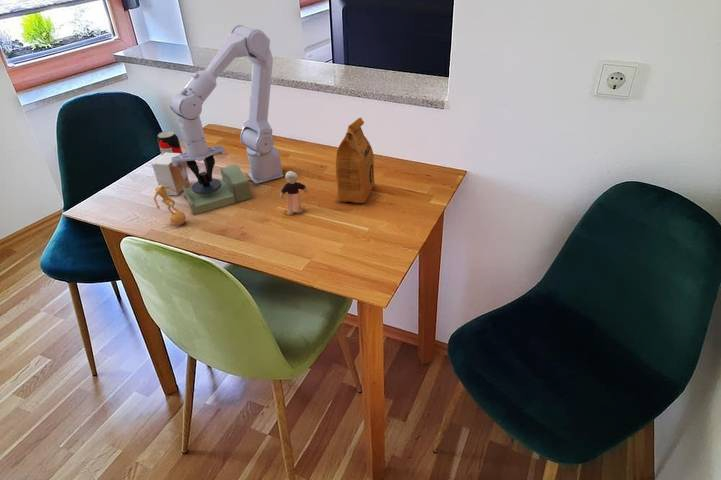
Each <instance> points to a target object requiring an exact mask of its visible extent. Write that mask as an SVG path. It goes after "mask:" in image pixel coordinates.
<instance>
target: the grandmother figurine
mask: <svg viewBox="0 0 721 480" xmlns="http://www.w3.org/2000/svg"><path fill="white" fill-rule="evenodd" d="M298 177H299V176H298V173H296V172H295V171H293V170H289V171H287V172H286V173H285V179H286V181H287V183H285V185H283V187H282V189H280V193H279V198H281V199H282V198H284V195H285V194H286V206H287V211H286V215H288V216H292V215H294V214H295V213H296V214H301V213H303V209H302V198H301V192H300V190H301V191H303V192H304V193H305V194H307V193H308V189H307V187H306V185H305V184H303V183H301V182H298Z"/></svg>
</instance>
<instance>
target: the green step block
mask: <svg viewBox="0 0 721 480" xmlns="http://www.w3.org/2000/svg"><path fill="white" fill-rule="evenodd" d="M219 169H220V174H221V177H222V178H220V179H219V180H220V182H221V187H220V188H219V189H218V190H217V191H215V192H212V193H208V194H197V193H194V192H193V191H192V186H191V187H188V188H187V187H186V188H185V186H183V190H182V191H183V193H184V197H185V198H187V201H188V202H189V205H190V207H191V209H192V213H193V215H198V214H201V213H204V212H208V211H212V210H215V209H219V208H221V207H226V206H229V205H233V204H235V203H240V202H244V201H246V200H250V199H252V198H253V197H252V192H251V187H250V183H249V179H248V178H247V176H246V175H245V174H244V172H242V170H241V169H240V167H239V166H238V165H237V163H235V164H232V165H227V166H224V167H221V168H219Z"/></svg>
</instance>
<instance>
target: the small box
mask: <svg viewBox="0 0 721 480" xmlns="http://www.w3.org/2000/svg"><path fill="white" fill-rule="evenodd" d="M178 155H181V153H167V152H166V153H164V154H163V155H162V154H161V156H159V157H158V158H157V159H156V160H155V161H154V162H152V163H151V166H152V170H153V172H154V175H155V178H156V181H157V184H158V186H161V185H163V186H169V187H170V188H172V189H174V190H175V191H176V192H177V193H178V194H177V193H176V192H174V191H172V190H171V189H169V188H167V189H166V191H167V195H169V196H179V195H180V194H181V193H182V192H183V191H184V190H183V186H185V188H186V189H187V187H188V186H189V185H190V179H189V176H188V172H187V169H186V163H185V164H184V163H183V164H179V165H178V166H175V167H174V166H173V164H172V161H171V158H172V157H176V156H178Z"/></svg>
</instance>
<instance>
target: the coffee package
mask: <svg viewBox="0 0 721 480" xmlns="http://www.w3.org/2000/svg"><path fill="white" fill-rule="evenodd" d="M364 124H365V121H364V120H363V119H362V117H358V118H357V119H355V120H354V121H353V122H352V123H350V124H349V125H348V126H347V130H346V133H345V135H344V137H343V138H342V140H341V141H340V144H339V145H338V147H337V150H336V157H335V177H336V187H337V195H338V197H337V198H338V201H339V202H340V203H341V202H345V203H346V202H351V203H355V204H362V203H363V204H364V203H366V201H367V200H368V198H369V196H370V194H371V192H372V190H373V188H374V186H375V169H374V167H375V154H374V151H373V148H372V145H371V143H370V142H369V140H368V139H367V137H366V136H365V134H364V132H363V129H362V127H363V125H364Z"/></svg>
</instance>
